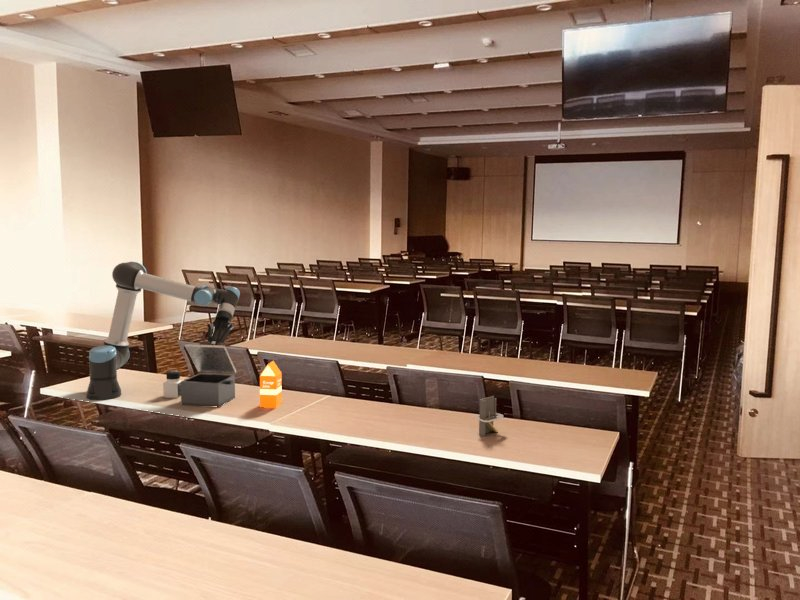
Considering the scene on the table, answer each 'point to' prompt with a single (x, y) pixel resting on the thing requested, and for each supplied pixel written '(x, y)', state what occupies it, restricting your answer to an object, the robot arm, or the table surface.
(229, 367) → the gray box lid
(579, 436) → the table surface
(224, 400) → the grey storage box
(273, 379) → the orange juice
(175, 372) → the medicine bottle
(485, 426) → the architectural model
